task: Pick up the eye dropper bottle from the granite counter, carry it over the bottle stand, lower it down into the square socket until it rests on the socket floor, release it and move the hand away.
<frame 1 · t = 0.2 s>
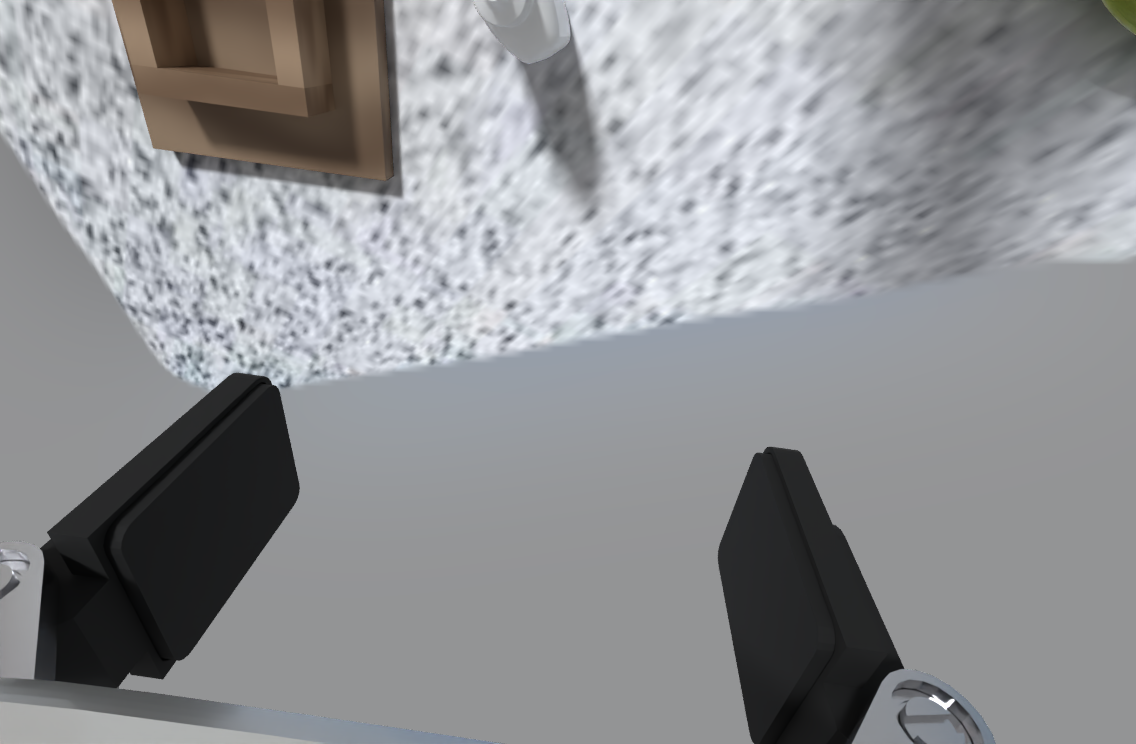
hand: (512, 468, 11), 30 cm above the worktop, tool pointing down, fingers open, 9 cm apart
eye dropper bottle: (534, 4, 32), on the worktop
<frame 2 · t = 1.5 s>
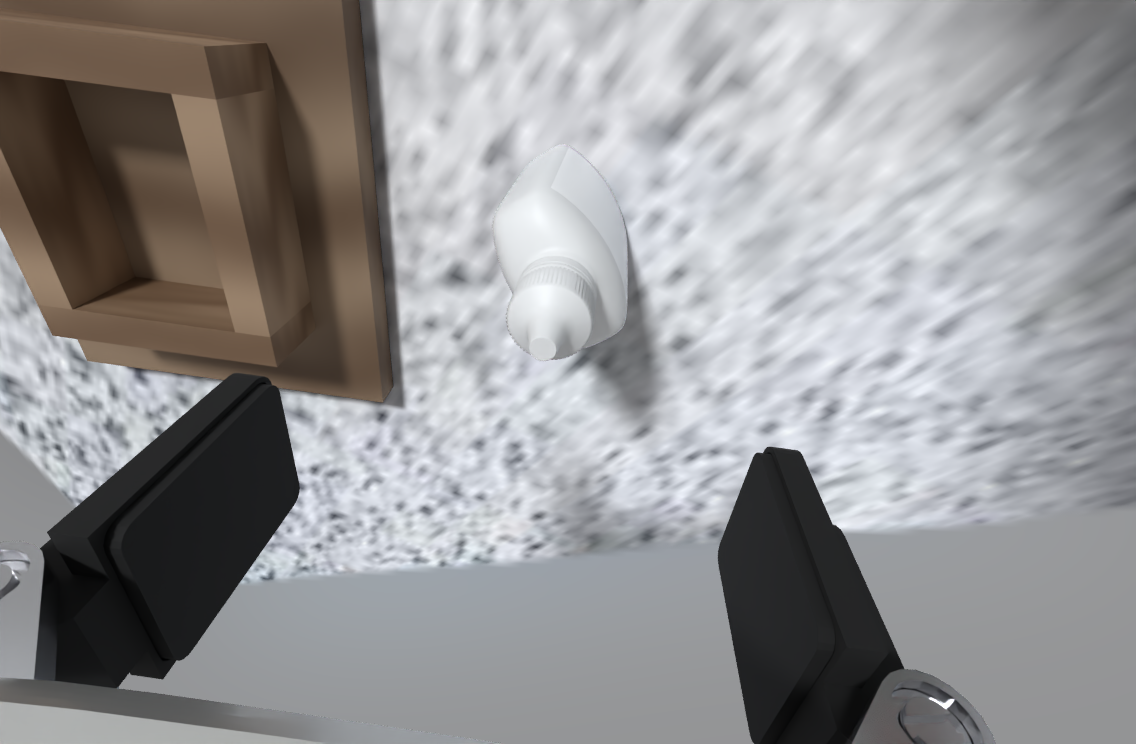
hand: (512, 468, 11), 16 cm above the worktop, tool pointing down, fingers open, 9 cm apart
eye dropper bottle: (578, 208, 24), on the worktop
bottle stand: (202, 181, 24), on the worktop
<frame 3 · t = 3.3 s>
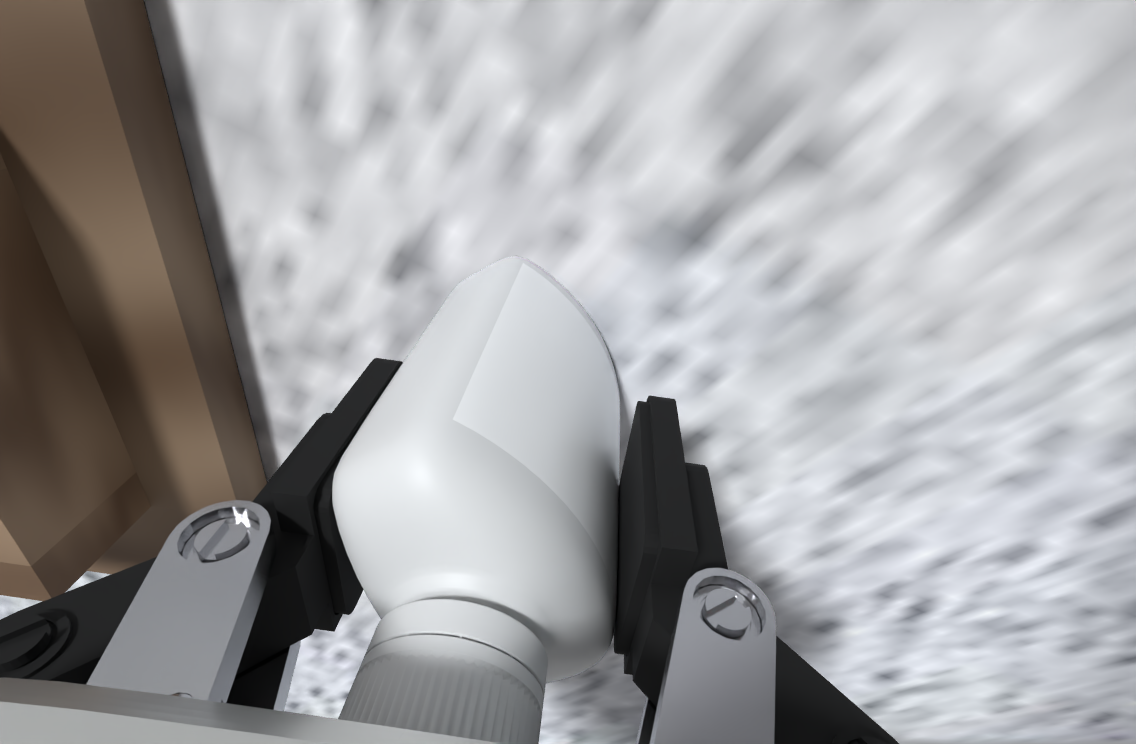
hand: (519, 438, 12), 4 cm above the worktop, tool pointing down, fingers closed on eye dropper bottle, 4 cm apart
eye dropper bottle: (543, 344, 15), on the worktop, touching gripper
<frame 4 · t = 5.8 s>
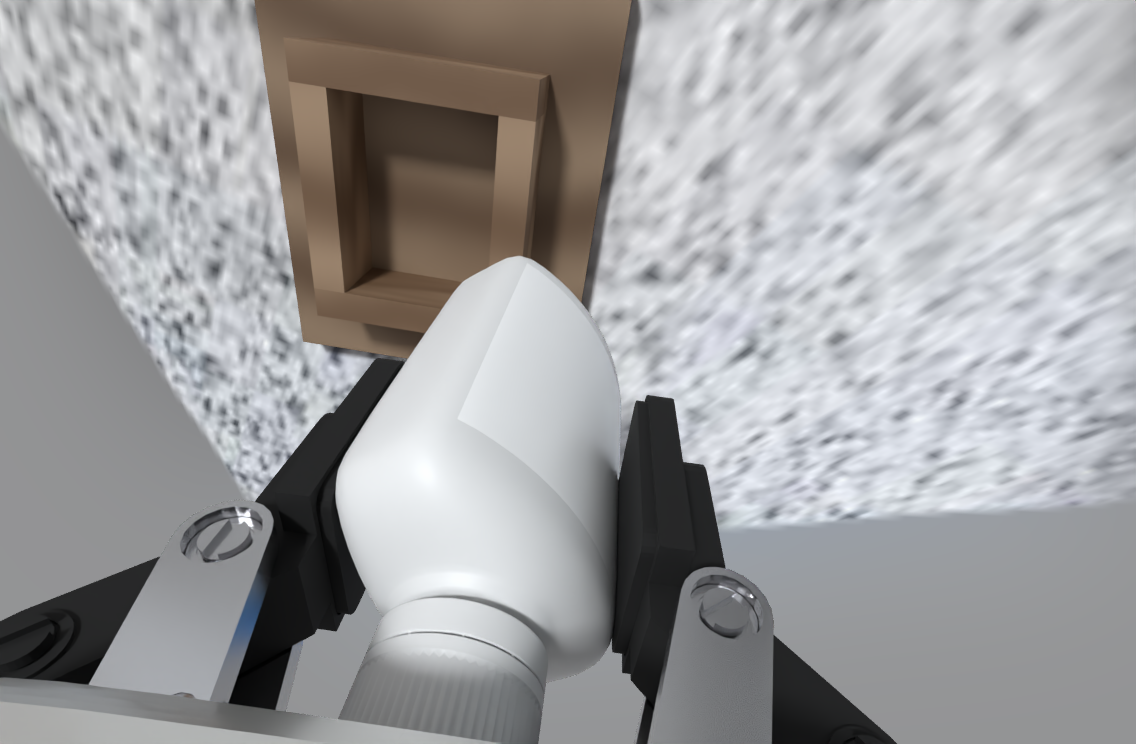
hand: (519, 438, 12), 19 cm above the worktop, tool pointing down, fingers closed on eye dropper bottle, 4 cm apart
eye dropper bottle: (545, 345, 15), point 15 cm above the worktop, touching gripper
bottle stand: (445, 186, 28), on the worktop
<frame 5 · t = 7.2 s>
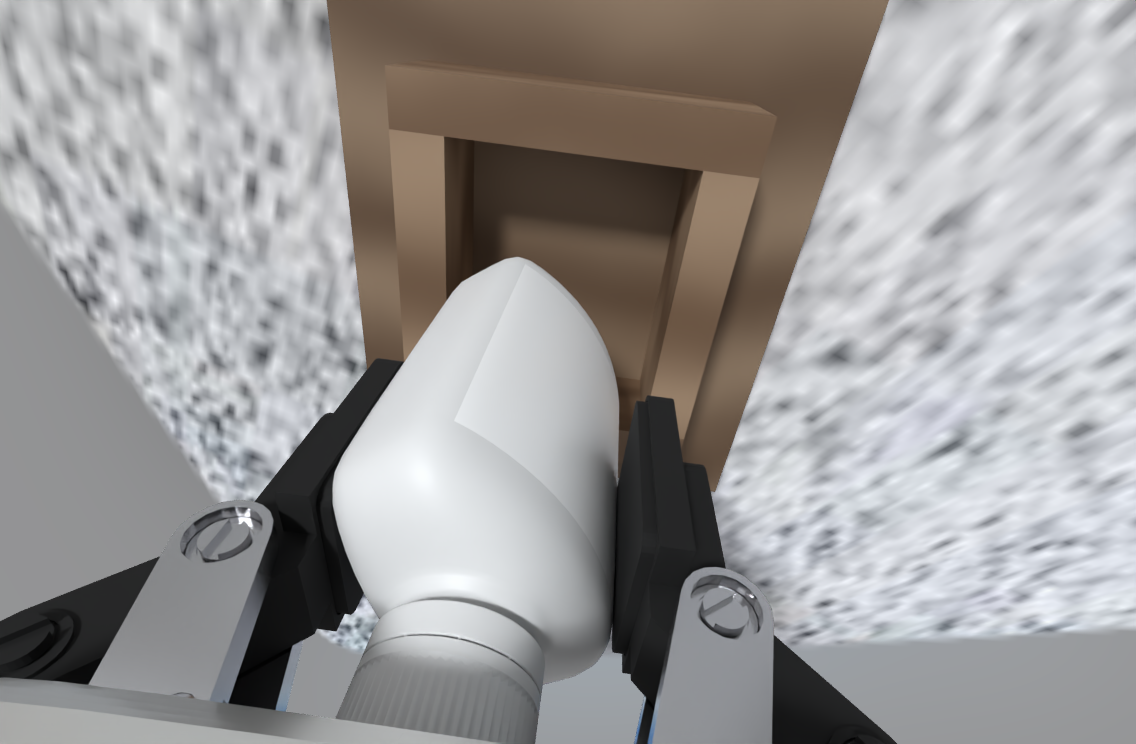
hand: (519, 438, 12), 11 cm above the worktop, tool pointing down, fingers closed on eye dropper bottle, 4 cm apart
eye dropper bottle: (543, 346, 15), point 7 cm above the worktop, touching gripper
bottle stand: (570, 251, 21), on the worktop
when the fingers open (6 cm above the worktop, at t = 8.4 s): eye dropper bottle drops 1 cm, resting on bottle stand.
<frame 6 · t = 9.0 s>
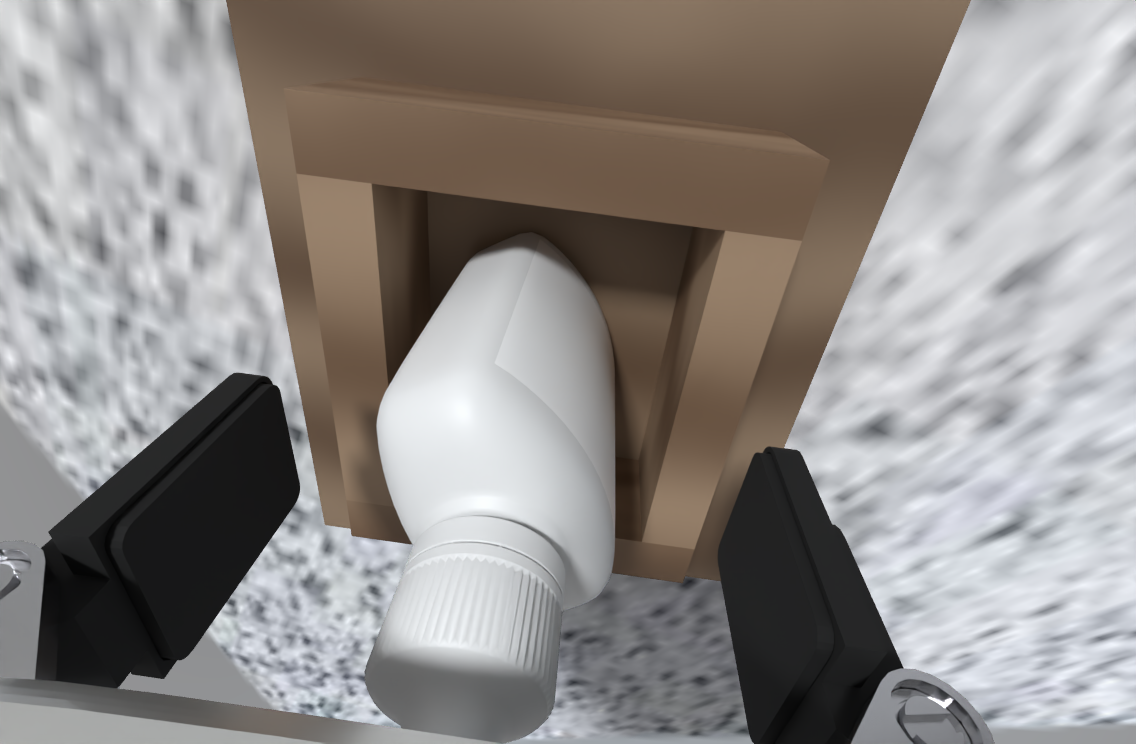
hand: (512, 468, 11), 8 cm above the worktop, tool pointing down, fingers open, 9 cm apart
eye dropper bottle: (546, 320, 16), point 1 cm above the worktop, touching bottle stand
bottle stand: (553, 307, 17), on the worktop
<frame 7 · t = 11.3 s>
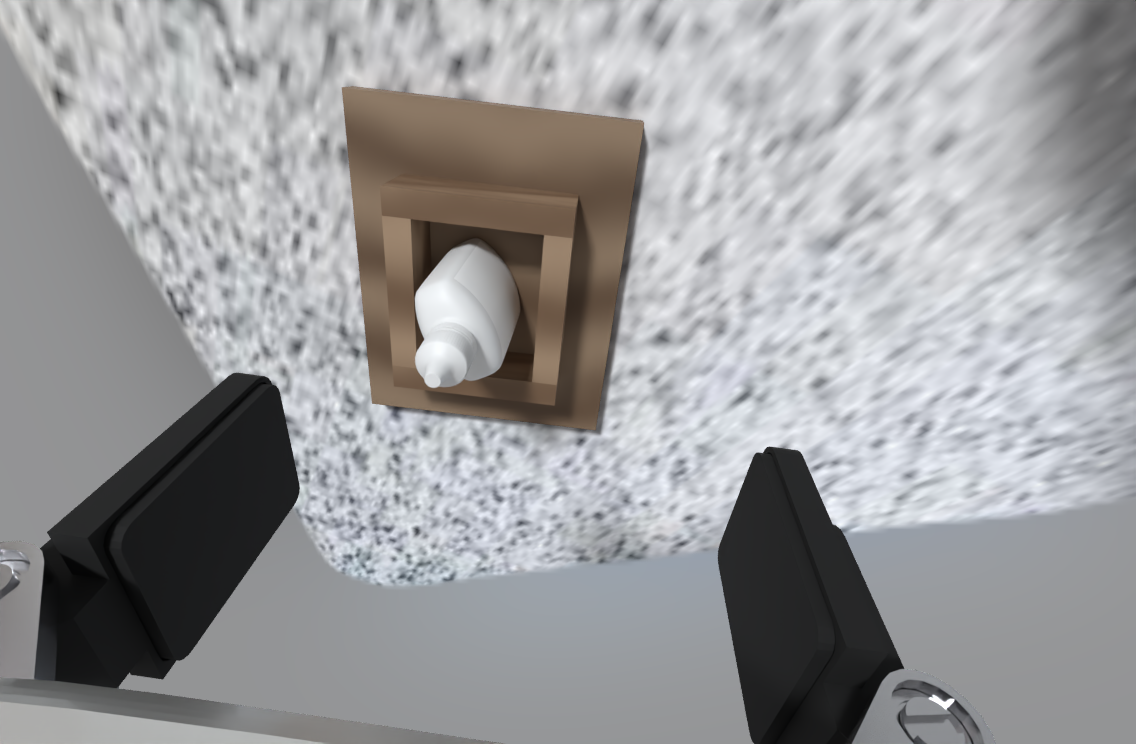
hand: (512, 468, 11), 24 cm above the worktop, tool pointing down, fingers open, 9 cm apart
eye dropper bottle: (487, 280, 33), point 1 cm above the worktop, touching bottle stand
bottle stand: (492, 276, 35), on the worktop
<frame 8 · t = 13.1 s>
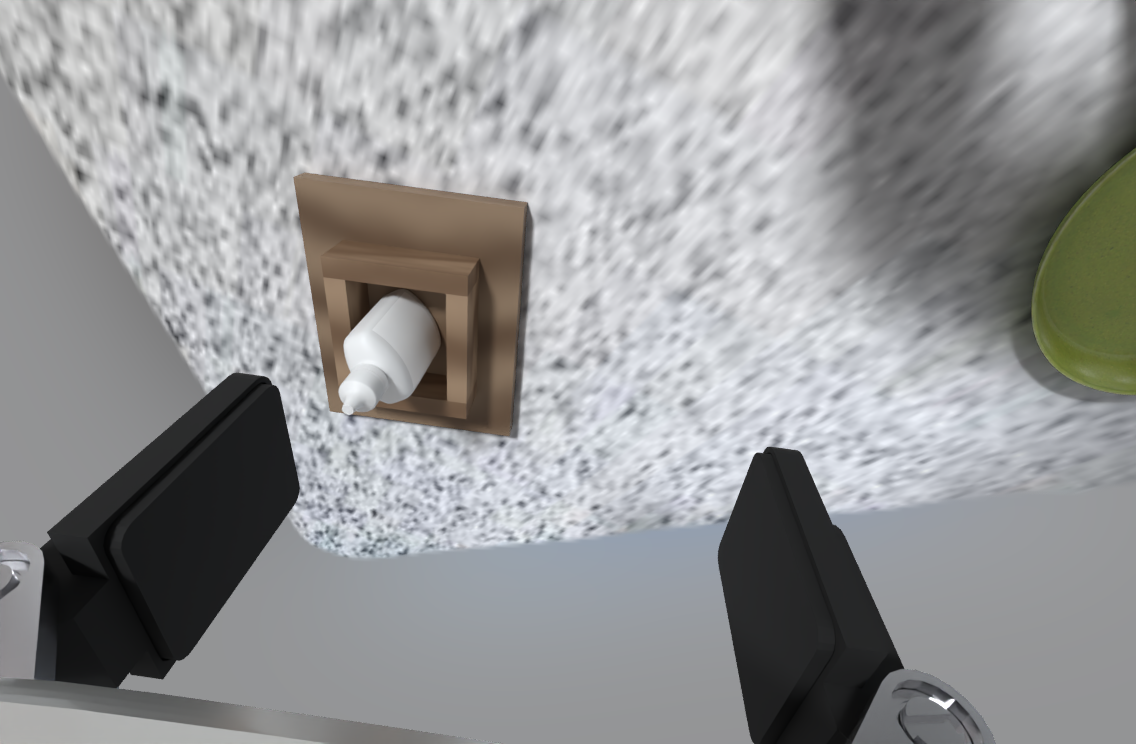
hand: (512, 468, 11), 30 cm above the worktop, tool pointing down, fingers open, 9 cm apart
eye dropper bottle: (414, 319, 42), point 1 cm above the worktop, touching bottle stand
bottle stand: (420, 314, 43), on the worktop
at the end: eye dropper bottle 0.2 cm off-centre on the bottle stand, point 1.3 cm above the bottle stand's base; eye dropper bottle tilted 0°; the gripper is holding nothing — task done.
